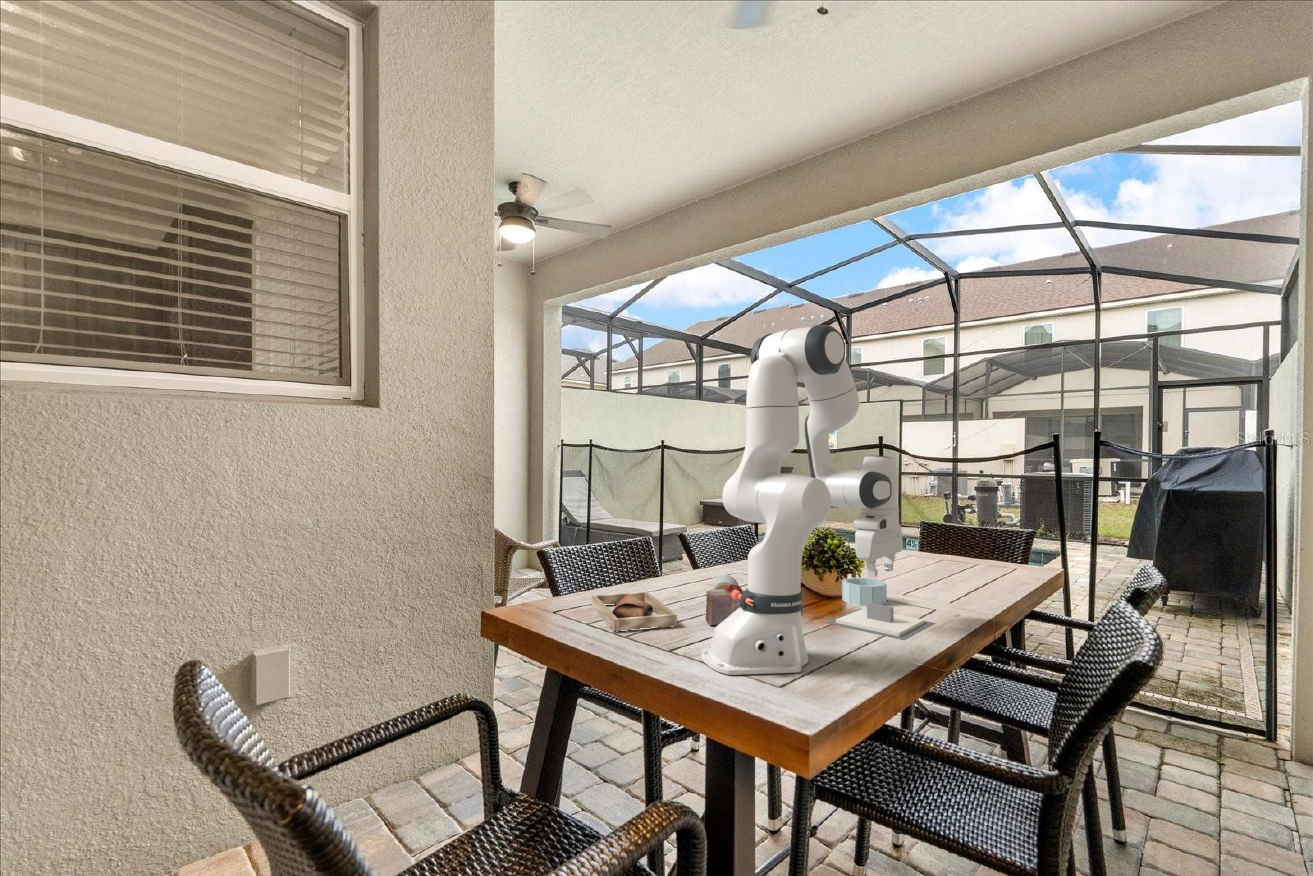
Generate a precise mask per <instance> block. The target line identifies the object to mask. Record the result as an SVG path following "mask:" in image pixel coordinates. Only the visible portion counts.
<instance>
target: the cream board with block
mask: <svg viewBox="0 0 1313 876" xmlns="http://www.w3.org/2000/svg"><path fill="white" fill-rule="evenodd" d="M860 609H861V610H858V609H857V610H858V611H856V612H853V611H852V612H853V613H851V614H848V613H847V614H848V615H846V616H843V615H842V616H843V617H841V618H838V617H837V618H838V619H836V623H839V624H844V625H849V626H853V627H858V628H862V629H867V630H872V631H876V632H881V633H886V634H890V635H895V636H901V635H903V634H905V633H906V632H908V631H910V630H912V629H914V628H916V627H918V626H920V625H922V624H924V623H925V621H926V620H925V619H922V618H917V617H912V616H907V615H902V614H895V611H894V606H888V605H885V604H884V605H879V604H873V603H869V604H867V606H866V608H865V607H864V608H860Z"/></svg>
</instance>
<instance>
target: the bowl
mask: <svg viewBox="0 0 1313 876" xmlns="http://www.w3.org/2000/svg"><path fill="white" fill-rule="evenodd" d="M887 589H888V588H887V583H886V582H885V581H884V580H880V579H877V578H876V579H875V578H871V577H869V578H868V577H847V580H846V578H844V580H843V579H841V596H842V597H841V599H842V601H843V602H844V603H848V604H850V605H851V604H852V605H857V606H863V607H867V604H869V603H873V604H879V605H884V606H885V605H886V604H887V601H888V600H887V597H888V596H887V595H888V594H887V591H888V590H887Z"/></svg>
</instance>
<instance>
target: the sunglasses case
mask: <svg viewBox="0 0 1313 876" xmlns="http://www.w3.org/2000/svg"><path fill="white" fill-rule="evenodd" d="M626 593H627V594H626V595H625V597H624V598H623V599H622V600H621V601H620V602H619V603H618V604H617V605H615V607H614V608H613V610H612V611H611V612H612V613H613V614H614V615H615V616H616V617H617V618H630V617H643V616H646V615H647V614H648V612H649V611H650V610H649V609H650V608H651V605H650V604H649V603H646V602H644V601H641V600H639V599H637V598H636V597H634V596H633V595H631V594H629V593H630V592H626ZM648 610H649V611H648ZM647 611H648V612H647Z"/></svg>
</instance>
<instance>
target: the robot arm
mask: <svg viewBox="0 0 1313 876" xmlns="http://www.w3.org/2000/svg"><path fill="white" fill-rule="evenodd" d="M845 356H846V344H845V340H844V338H843V335H842V334H841V333H840V331H838V330H837V329H836V328H835V326H833V325H827V324H817V325H816V324H815V325H813V326H805V327H797V328H796V327H794V328H788V329H784V330H783V329H782V330H780V331H777V332H775V333H768V334H765V335H763V336H761V337H759V338H758V339H757V340H756V341H755V342H754V343H753V345H752V348H751V352H750V365H751V366H750V369H749V372H748V378H747V386H746V398H745V402H746V403H745V405H746V406H745V407H746V408H745V412H746V413H745V414H746V416H745V417H746V425H745V426H746V427H745V429H746V431H745V434H746V435H745V445H744V446H745V447H744V452H743V455H742V458H741V461H740V462H739V466H738V467H737V469H736V470H735V472H734V474H732V475H731V477H729V478H728V480H727V481H726V482H725V484H724V486H723V488H722V489H723V490H722V503H723V507H724V508H725V510H726V512H727V513H728V514H729V515H731V516H733V517H735V518H737V519H739V520H743V521H746V522H748V523H749V522H750V523H758V524H766V531H765V535H764V538H763V539H762V540H761V542H759V543H757V544H755V545H754V546H753V547H752V548H751V549H750V551H749V552H748V556H747V588H746V589H745V590H746V591H745V592H744V593H743V594H742V593H741V592H739V591H737V590H734V591H732V593H731V597H732V598H733V599H734V600H736V601H740V607H739V608H738V609H737V610H736V611H734V612H733V613H732V614H731V615H730V616H729V617H727V618H726V619H725V620H724V621H722V622H721V623H720V624H719V625H717V626H715V628H714V630H713V634H712V637H711V638H712V639H711V645H710V647H705V648H702V650H701V652H700V658H701V660H702V661H703V662H704V663H705V664H706V665H707V666H708V667H710V669H712V670H714V671H717V672H718V673H721V674H725V675H728V676H733V675H734V676H737V675H739V676H740V675H743V676H744V675H764V674H792V673H800V672H801V671H802V670H803V669H802V668H803V666H806V665H807V663H809V656H808V652H807V648H806V643H805V638H804V631H803V621H802V619H803V618H802V616H803V612H804V600H803V599H804V597H803V594H804V593H803V591H802V590H801V587H802V586H801V583H802V582H801V577H802V576H801V575H802V561H803V560H802V559H803V552H804V549H805V546H806V544H807V541H808V539H809V537H810V536H811V534H812V533H813V532H814V530H816V528H818V527H819V526H821V524H823V523H824V522H825V521H826V519H827V518H828V516H829V514H830V512H831V509H832V508H833V509H835V508H841V509H843V508H844V509H854V510H855V509H856V510H857V509H858V510H861V512H860V513H859V515H858V516H857V517H856V518H855V519H854V520H853V528H854V529H856V531H855V534H854V540H855V542H854V544H855V555H856V557H857V559H858V560H859V561H863V562H865V565H866V569H867V574H868V577H869V578H872V579H875V578H876V577H878V573H879V572H878V569H877V567H876V564H877V560H878V559H882V558H884V557H885V563H884V564H883V567H884V571H885V572H889V573H890V572H893V571H894V563H895V559H896V554H898V553H900V552H902V551H903V547H904V542H903V531H902V525H900V515H899V514H900V513H899V512H900V508H899V507H900V506H899V503H898V494H899V476H898V469H897V464H896V461H895V460H894V459H893V458H892V457H889V456H884V455H868V456H864V458H863V461H862V465H861V466H859V467H857V468H856V469H839V468H836V467H835V466H834V465H833V463H832V458H831V449H830V442H829V437H830V434H831V433H833V432H835V431H838V430H840V429H841V428H843V427H844V426H846V425H847V424H849V423H850V422H851V421H852V420H853V419H854V418H855V416H856V415H857V413H858V411H859V407H860V398H859V397H860V396H859V394H858V390H857V385H856V383H855V380H854V377H853V374H852V372H851V371H852V370H851V369H850V366H849V364H848V362H847V360H846V358H845ZM798 379H803V381H804V382H803V383H804V387H805V388H804V389H805V392H806V396H807V398H808V403H809V413H808V414H807V416H806V417H805V420H804V437H805V438H804V439H805V443H806V451H807V459H808V465H809V472H810V476H809V475H806V474H801V473H781V469H782V464H783V462H784V460H785V458H786V456H788V455H789V454H790V453H791V452H793V451H794V450H795V449H796V448H797V447H798V445H799V443H800V407H799V391H798V389H799V388H798V383H797V381H798Z"/></svg>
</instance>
